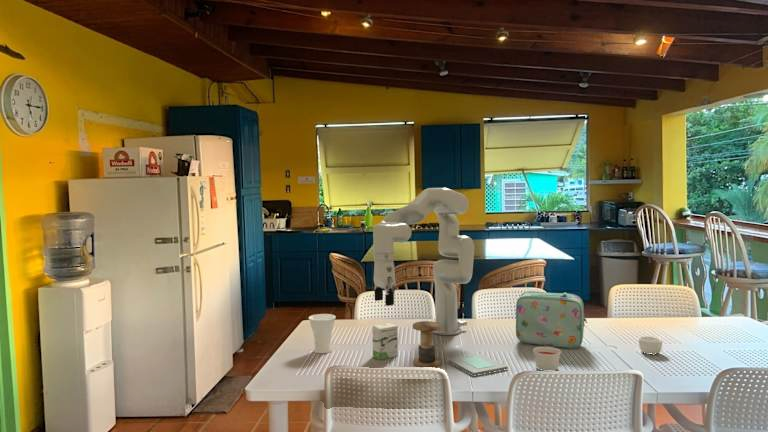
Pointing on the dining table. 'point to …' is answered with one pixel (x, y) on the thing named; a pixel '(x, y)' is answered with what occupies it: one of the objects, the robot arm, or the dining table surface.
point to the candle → (547, 358)
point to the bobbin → (426, 344)
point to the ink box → (385, 341)
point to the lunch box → (550, 319)
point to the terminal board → (477, 364)
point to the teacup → (650, 344)
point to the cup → (322, 331)
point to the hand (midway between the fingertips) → (384, 302)
